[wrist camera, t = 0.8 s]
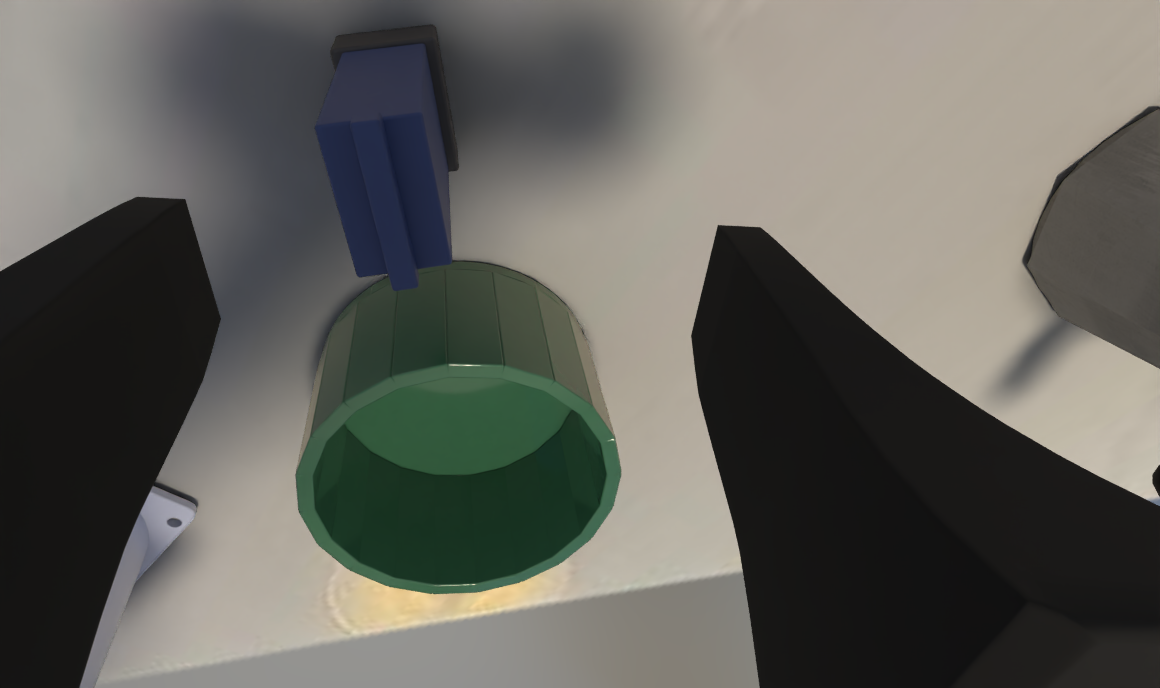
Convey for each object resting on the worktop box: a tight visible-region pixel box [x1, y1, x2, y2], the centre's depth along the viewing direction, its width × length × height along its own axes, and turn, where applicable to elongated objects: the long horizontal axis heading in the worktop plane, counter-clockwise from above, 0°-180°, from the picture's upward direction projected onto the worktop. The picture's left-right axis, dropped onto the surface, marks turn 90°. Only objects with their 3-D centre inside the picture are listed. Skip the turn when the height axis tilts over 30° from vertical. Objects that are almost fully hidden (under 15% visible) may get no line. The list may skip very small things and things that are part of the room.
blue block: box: [315, 25, 459, 291], centre depth 19 cm, size 4×3×8 cm
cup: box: [295, 261, 621, 594], centre depth 26 cm, size 10×10×6 cm
